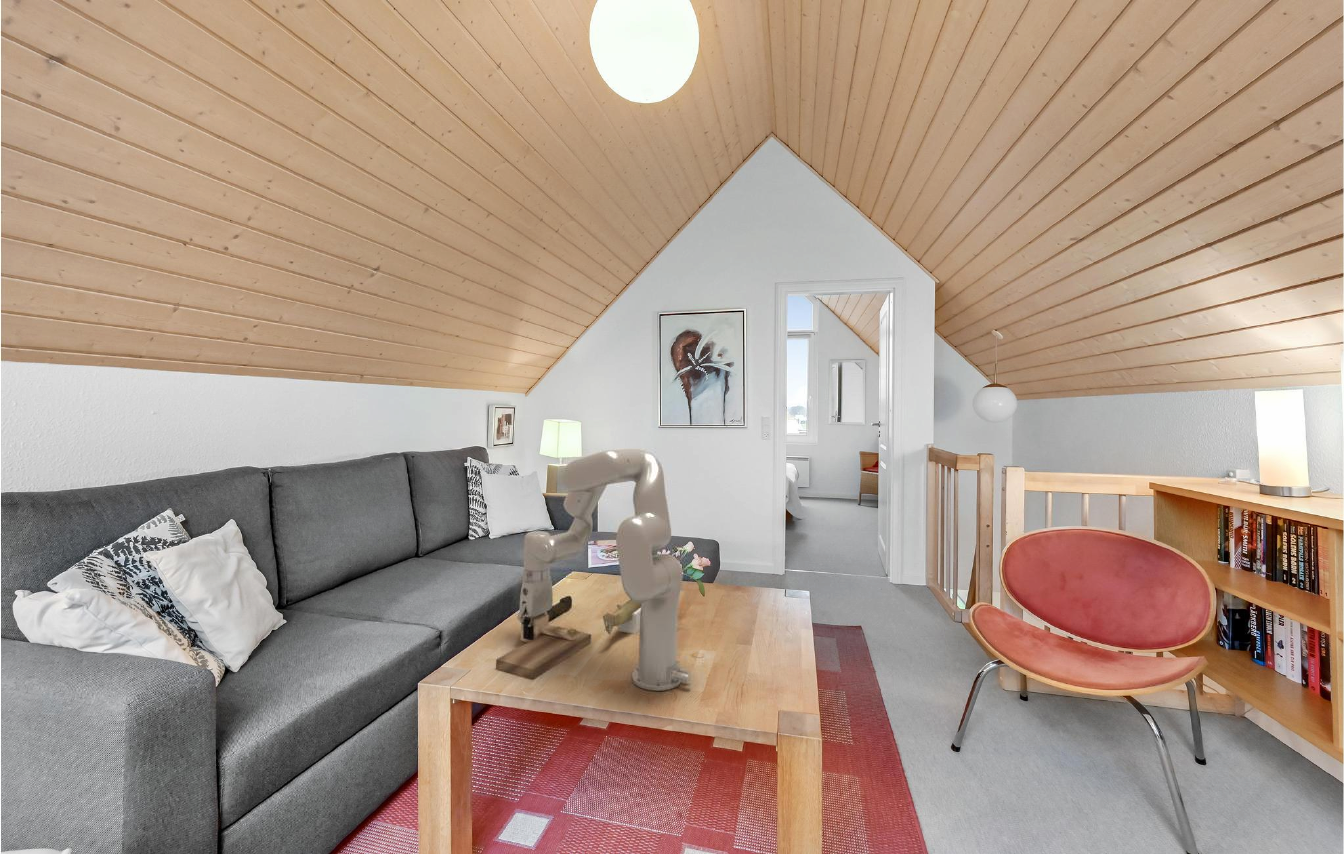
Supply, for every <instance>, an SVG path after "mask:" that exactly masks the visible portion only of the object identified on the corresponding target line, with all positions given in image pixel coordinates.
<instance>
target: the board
mask: <svg viewBox="0 0 1344 854" xmlns="http://www.w3.org/2000/svg"><path fill="white" fill-rule="evenodd" d="M558 627H559V628H563V629H567V630H569V629H570V628H565V627H561V626H558ZM576 632H577V633H576V638H575V639H574V640H569V639H565V638H560V637H556V636H552V635H548V634H543V635H541V636H539V637H537V638H535V639H533V640H532V641H530V642H526V643H524V644H522V645H521V646H519V647H517V648H514V649H513V650H511V651H509V652H507V653H506V654H504V655H502V656H500V657H498V658H496V659H495V660H496V661H495V662H496V663H495V669H496V670H499V671H503V672H505V673H509V674H513V675H516V676H519V677H523V678H526V679H530V680H535V679H537V678H538V677H540V676H541V675H543V674H544V673H546V672H547V671H549V670H550V669H552V668H554V667H555V666H557V665H559V664H560V663H561V662H563V661H565V660H566V659H568V658H570V657H571V656H572V655H574V654H576V653H578V652H579V651H580V650H582V649H583V648H585V647H586V646H588V645H589V644H591V643H592V634H591V633H587V632H582V631H579V630H576Z"/></svg>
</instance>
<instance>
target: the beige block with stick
mask: <svg viewBox="0 0 1344 854" xmlns="http://www.w3.org/2000/svg"><path fill="white" fill-rule="evenodd" d="M529 618H530V617H527V620H528V621H529ZM549 623H550V620H549V615H547V614H540V615H538V616H536V617H534V618H533V623H532V626H533V639H535V638H537V637H539V636H541V635H543V634H548V635H552V636H556V637H560V638H565V639H569V640H574V639H575V638H576V633H577V632H576V631H577V629H576V628H566V629H563V628H564V627H561V628H559V627H560V626H554V625H550V624H549ZM523 627H524V625H522V623H521V622H520V641H523V642H526V643H528V642H530V641H532V640H528V639H524V638H523ZM567 629H569V630H567Z"/></svg>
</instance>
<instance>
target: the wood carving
mask: <svg viewBox="0 0 1344 854" xmlns="http://www.w3.org/2000/svg"><path fill="white" fill-rule="evenodd" d="M641 604H642V602H635V601H633V600H631V599H630V598H629V599H628V600H627V601H625V602H624V603H623V604H622V605H620V604H617V605H616V607H617V608H616V609H615V610H614V611H613V612H612V613H610V612H605V613H604V614H603V616H602V618H603V623H604V630H605V631H606V632H607V634H608V635H611V633H612V631H613V628H614V627H617V632H623V633H628V634H634V635H636V634H637V633H639V632H640V612H641Z"/></svg>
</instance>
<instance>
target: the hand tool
mask: <svg viewBox="0 0 1344 854" xmlns="http://www.w3.org/2000/svg"><path fill="white" fill-rule="evenodd" d="M572 606H573V597H572V596H571V595H567V596H564V597H562V598H560V599H559V602H557V603H556V604H553V605H552V608H551V609H550V610H549V612H548V614H547V615H549V621H550V620H552V619H553V618H555V617H557V616H558V615H560V614H562V613H563V614H564V613H567V612H569V611H570V610H571V609H572Z"/></svg>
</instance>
